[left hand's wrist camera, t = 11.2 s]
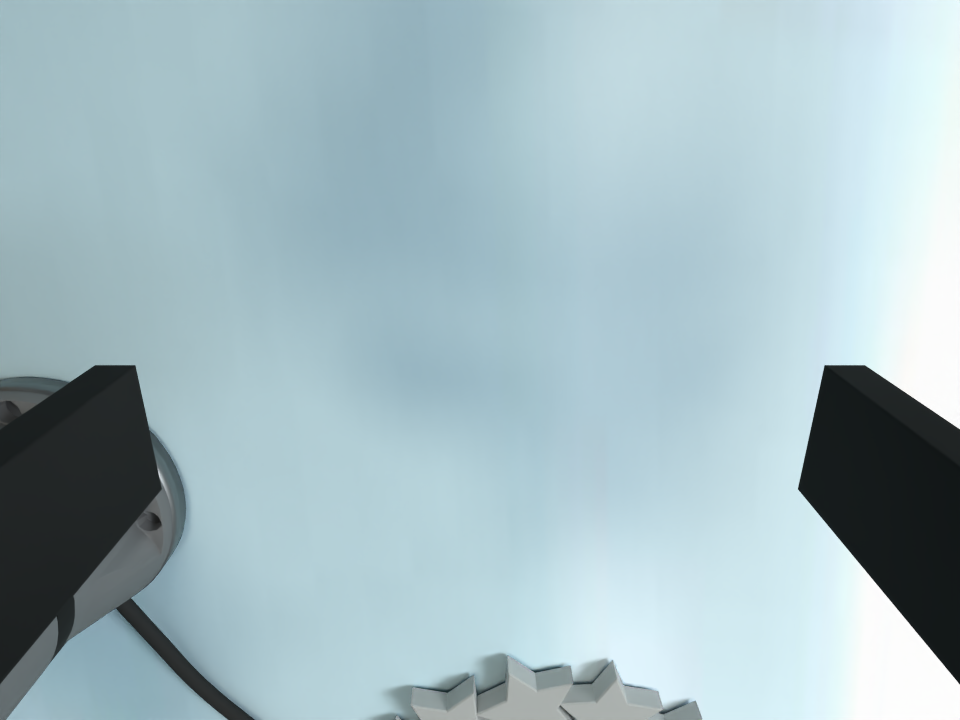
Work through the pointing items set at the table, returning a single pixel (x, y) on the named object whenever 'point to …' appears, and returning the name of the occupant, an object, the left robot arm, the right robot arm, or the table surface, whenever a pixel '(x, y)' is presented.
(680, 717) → the decorative wreath
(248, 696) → the table surface
